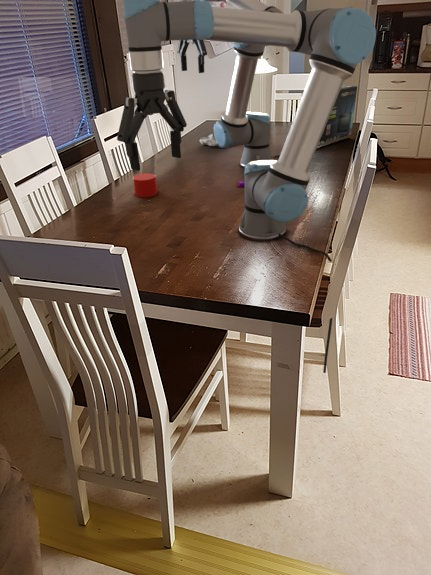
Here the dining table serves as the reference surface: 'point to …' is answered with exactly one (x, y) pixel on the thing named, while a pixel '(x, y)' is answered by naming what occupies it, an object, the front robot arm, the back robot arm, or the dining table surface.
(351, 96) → the router box
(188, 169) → the dining table surface
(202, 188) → the dining table surface
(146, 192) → the tin
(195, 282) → the dining table surface
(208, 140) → the fossil
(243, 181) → the handgun
